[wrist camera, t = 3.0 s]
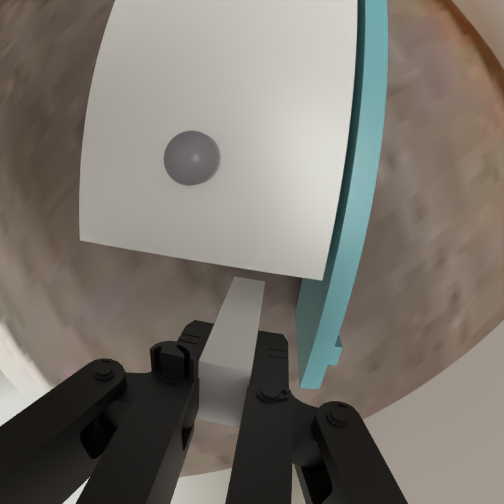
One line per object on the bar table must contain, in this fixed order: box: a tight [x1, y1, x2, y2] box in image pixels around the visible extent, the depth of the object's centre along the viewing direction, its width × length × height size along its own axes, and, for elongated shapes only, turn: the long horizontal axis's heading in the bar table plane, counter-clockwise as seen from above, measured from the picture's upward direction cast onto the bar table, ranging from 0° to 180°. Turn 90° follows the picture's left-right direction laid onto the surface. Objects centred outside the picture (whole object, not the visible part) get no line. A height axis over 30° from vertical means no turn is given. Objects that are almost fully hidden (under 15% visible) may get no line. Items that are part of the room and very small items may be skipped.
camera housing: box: [79, 0, 357, 280], centre depth 12 cm, size 20×11×10 cm, turn 173°
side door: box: [295, 0, 388, 389], centre depth 13 cm, size 24×2×8 cm, turn 173°
